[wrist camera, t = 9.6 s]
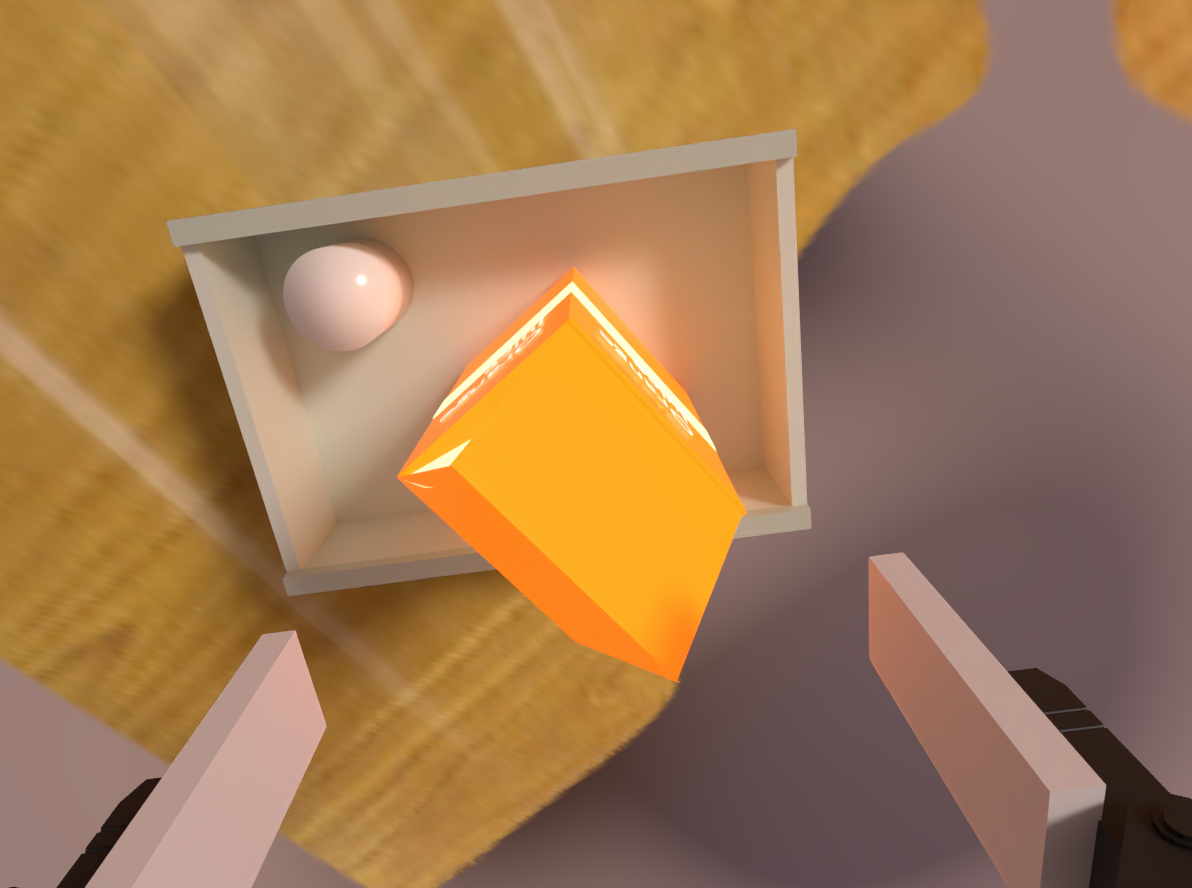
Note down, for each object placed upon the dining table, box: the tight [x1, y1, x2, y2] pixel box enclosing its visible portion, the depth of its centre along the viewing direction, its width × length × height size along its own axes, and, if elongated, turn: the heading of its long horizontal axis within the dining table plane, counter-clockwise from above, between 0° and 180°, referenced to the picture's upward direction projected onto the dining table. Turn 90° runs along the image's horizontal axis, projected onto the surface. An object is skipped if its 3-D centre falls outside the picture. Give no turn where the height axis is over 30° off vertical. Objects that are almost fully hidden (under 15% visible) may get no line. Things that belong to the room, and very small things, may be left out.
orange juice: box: [397, 267, 746, 683], centre depth 28 cm, size 8×9×20 cm
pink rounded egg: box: [283, 238, 414, 351], centre depth 33 cm, size 4×4×5 cm
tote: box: [166, 129, 811, 596], centre depth 34 cm, size 25×17×7 cm
